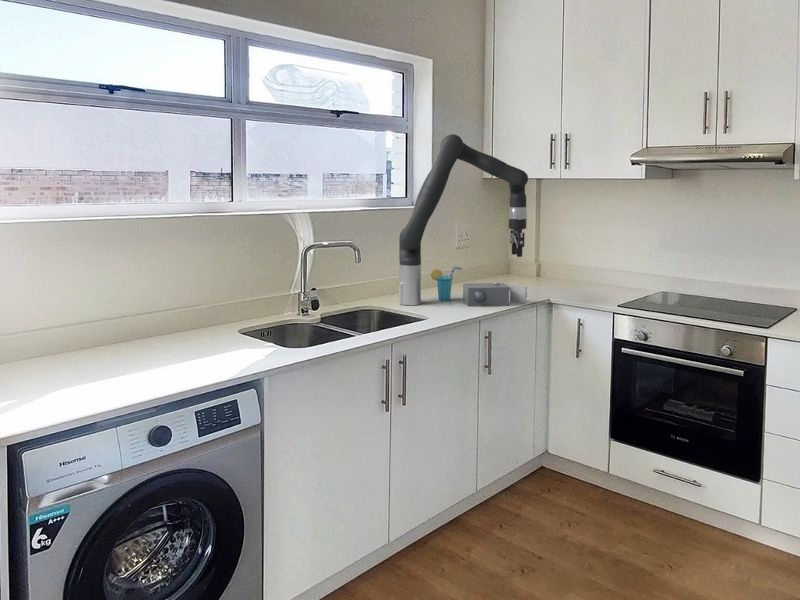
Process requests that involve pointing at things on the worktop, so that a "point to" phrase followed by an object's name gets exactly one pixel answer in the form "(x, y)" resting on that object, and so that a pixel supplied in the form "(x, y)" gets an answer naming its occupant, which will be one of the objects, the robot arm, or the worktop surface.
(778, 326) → the worktop surface
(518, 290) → the side door
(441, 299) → the cup
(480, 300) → the grey knobbed box
